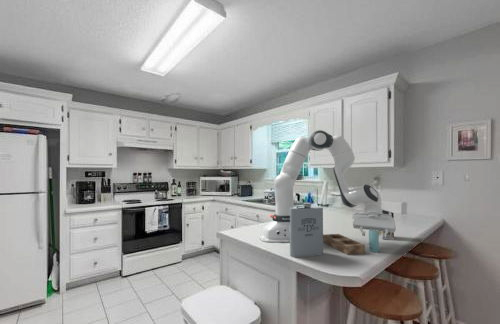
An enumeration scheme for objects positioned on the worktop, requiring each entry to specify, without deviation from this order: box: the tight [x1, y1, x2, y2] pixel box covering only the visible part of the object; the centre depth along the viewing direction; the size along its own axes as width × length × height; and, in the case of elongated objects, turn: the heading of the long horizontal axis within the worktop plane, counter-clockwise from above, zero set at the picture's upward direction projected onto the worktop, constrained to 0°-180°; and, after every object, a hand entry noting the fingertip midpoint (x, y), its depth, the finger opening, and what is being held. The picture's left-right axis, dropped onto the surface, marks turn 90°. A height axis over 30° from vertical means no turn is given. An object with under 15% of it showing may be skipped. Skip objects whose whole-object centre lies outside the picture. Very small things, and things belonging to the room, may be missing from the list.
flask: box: [289, 202, 324, 258], centre depth 113 cm, size 17×5×25 cm, turn 107°
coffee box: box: [378, 210, 395, 241], centre depth 144 cm, size 9×6×16 cm
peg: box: [368, 230, 380, 253], centre depth 119 cm, size 4×4×10 cm
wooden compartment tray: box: [323, 233, 366, 255], centre depth 125 cm, size 10×22×4 cm, turn 13°
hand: (373, 236), depth 120 cm, fingers open, 8 cm apart
